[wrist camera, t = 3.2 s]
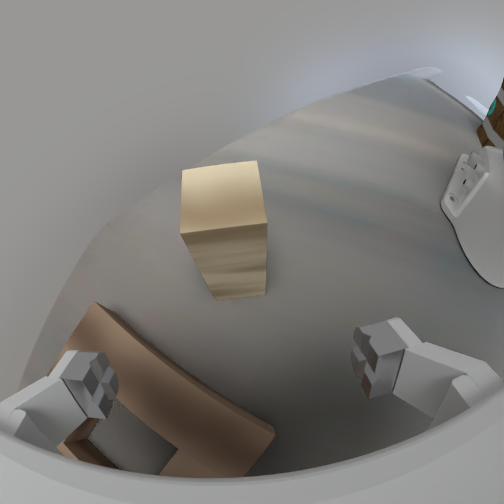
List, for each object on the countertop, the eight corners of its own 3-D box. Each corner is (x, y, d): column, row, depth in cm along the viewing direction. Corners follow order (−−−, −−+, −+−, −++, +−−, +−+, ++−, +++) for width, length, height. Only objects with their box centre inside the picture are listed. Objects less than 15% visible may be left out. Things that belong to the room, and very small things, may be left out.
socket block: (115, 313, 24) (94, 301, 21) (273, 426, 20) (275, 435, 16) (41, 432, 18) (18, 433, 14) (170, 544, 13) (157, 562, 10)
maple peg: (213, 255, 27) (182, 170, 16) (259, 250, 27) (256, 160, 16) (215, 300, 25) (180, 233, 14) (265, 294, 25) (267, 222, 14)
